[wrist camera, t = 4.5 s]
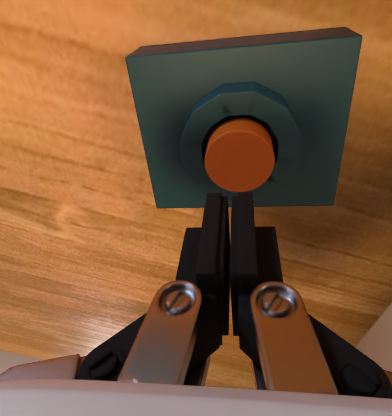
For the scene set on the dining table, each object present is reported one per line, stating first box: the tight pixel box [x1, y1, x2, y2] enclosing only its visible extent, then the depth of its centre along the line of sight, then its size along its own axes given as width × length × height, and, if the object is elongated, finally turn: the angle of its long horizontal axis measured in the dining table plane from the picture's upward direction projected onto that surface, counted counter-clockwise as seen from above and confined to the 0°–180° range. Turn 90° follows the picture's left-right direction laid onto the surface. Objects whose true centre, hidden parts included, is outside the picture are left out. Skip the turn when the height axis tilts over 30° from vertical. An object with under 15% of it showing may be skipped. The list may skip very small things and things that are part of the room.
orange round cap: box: [205, 118, 275, 192], centre depth 17 cm, size 4×4×2 cm
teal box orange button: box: [125, 27, 362, 208], centre depth 20 cm, size 12×10×5 cm
